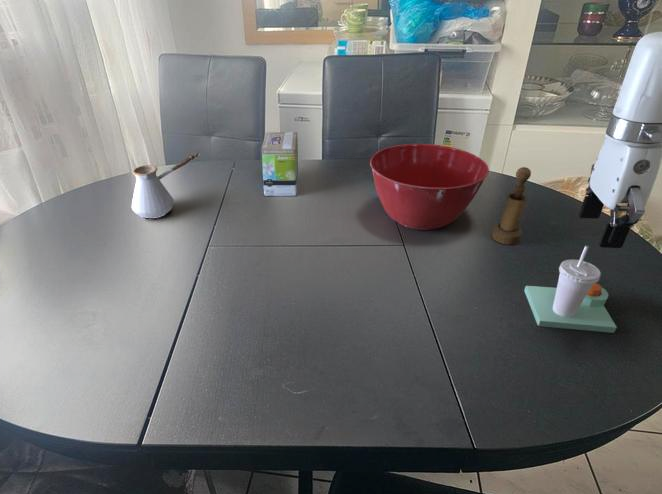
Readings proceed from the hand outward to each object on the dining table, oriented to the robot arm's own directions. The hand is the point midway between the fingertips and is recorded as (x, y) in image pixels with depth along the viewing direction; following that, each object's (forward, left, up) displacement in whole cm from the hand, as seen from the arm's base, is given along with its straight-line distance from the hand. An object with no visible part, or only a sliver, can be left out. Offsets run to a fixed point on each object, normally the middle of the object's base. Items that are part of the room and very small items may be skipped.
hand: (598, 231), depth 74 cm
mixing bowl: (+25, -37, -19) cm, 48 cm away
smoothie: (0, 0, -17) cm, 17 cm away
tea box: (+66, -53, -19) cm, 87 cm away
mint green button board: (-1, -2, -19) cm, 19 cm away
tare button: (-6, -5, -16) cm, 18 cm away
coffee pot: (+94, -34, -19) cm, 102 cm away
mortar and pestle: (+5, -29, -19) cm, 35 cm away
